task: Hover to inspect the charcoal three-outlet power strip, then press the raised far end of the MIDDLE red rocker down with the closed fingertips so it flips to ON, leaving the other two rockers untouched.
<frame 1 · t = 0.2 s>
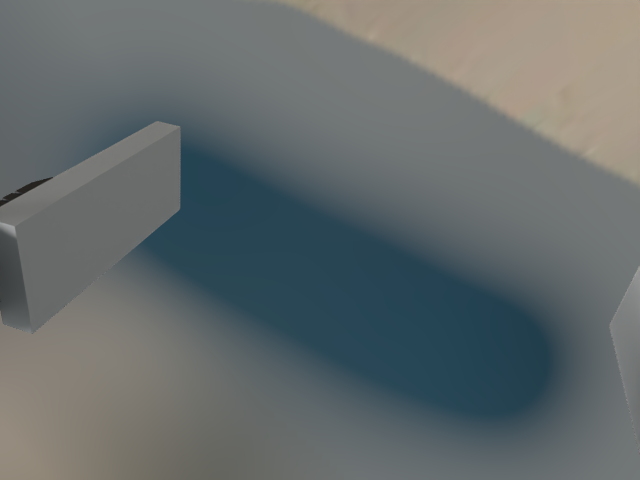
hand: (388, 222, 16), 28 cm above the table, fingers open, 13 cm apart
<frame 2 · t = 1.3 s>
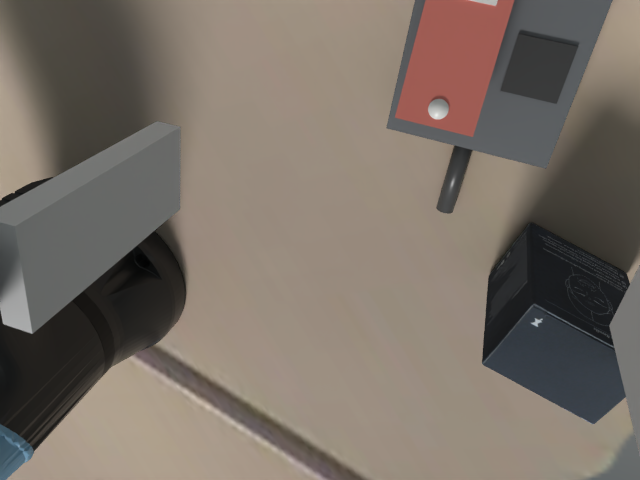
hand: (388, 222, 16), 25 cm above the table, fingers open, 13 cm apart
box: (555, 272, 42), on the table
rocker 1: (454, 53, 31), point 6 cm above the table, hinge at -15.0°
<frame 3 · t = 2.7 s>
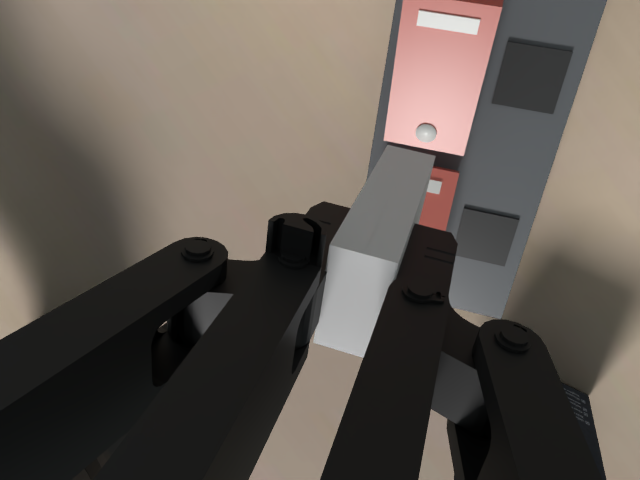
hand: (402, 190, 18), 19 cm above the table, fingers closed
box: (522, 393, 44), on the table
power strip: (481, 55, 34), on the table
rocker 2: (437, 76, 29), point 6 cm above the table, hinge at 15.0°
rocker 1: (405, 232, 33), point 6 cm above the table, hinge at -15.0°
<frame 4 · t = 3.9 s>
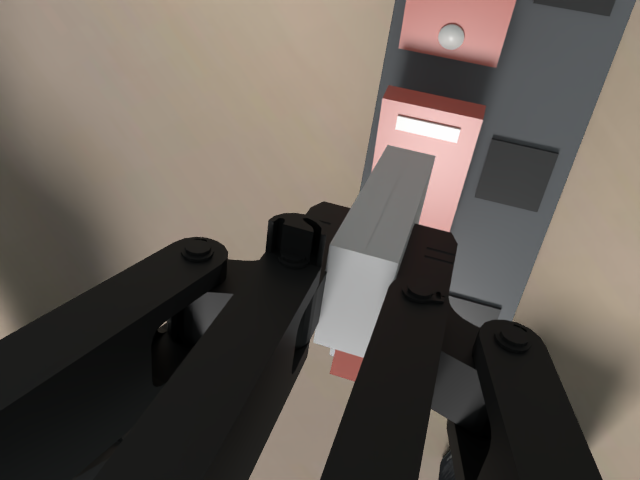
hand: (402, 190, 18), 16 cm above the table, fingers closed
box: (503, 462, 43), on the table
power strip: (468, 138, 33), on the table
rocker 2: (418, 174, 28), point 6 cm above the table, hinge at 15.0°
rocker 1: (383, 318, 32), point 6 cm above the table, hinge at -15.0°
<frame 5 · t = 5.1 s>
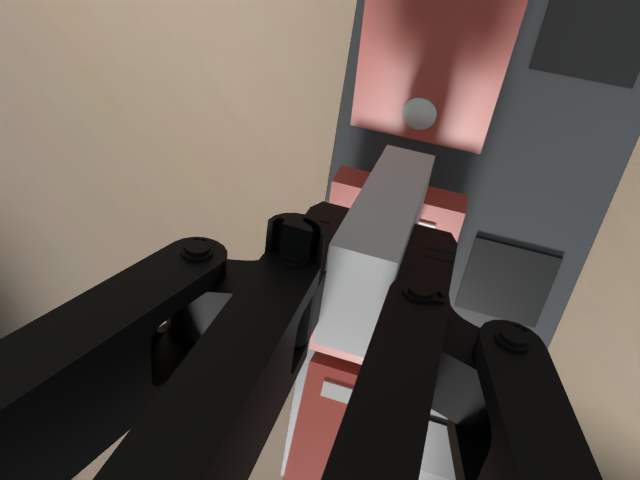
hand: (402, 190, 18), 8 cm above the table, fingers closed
power strip: (448, 222, 26), on the table
rocker 2: (380, 281, 21), point 6 cm above the table, hinge at 7.5°, touching gripper
rocker 3: (441, 13, 17), point 6 cm above the table, hinge at 15.0°
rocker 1: (341, 450, 26), point 6 cm above the table, hinge at -15.0°
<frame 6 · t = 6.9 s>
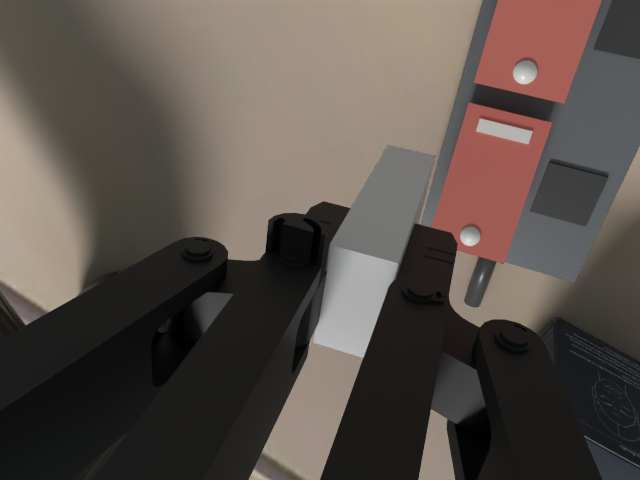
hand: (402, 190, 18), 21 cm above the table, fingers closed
box: (580, 363, 43), on the table
power strip: (581, 1, 32), on the table
rocker 2: (546, 6, 27), point 6 cm above the table, hinge at -8.3°
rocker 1: (486, 183, 32), point 6 cm above the table, hinge at -15.0°
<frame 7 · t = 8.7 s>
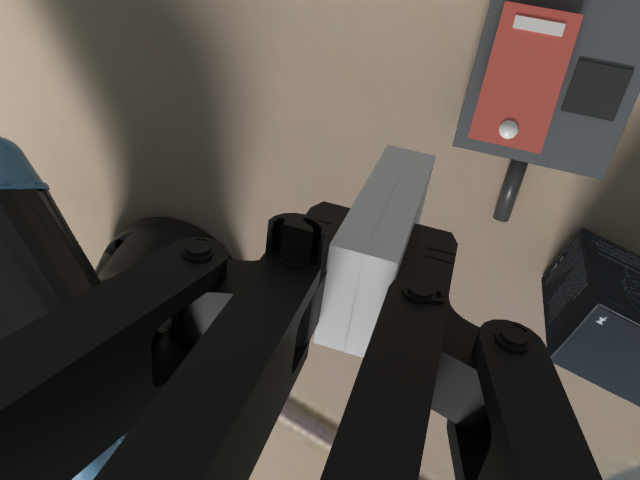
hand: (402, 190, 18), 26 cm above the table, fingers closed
box: (604, 274, 45), on the table
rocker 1: (522, 79, 34), point 6 cm above the table, hinge at -15.0°
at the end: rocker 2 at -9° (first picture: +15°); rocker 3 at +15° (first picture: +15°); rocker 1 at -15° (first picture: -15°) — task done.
